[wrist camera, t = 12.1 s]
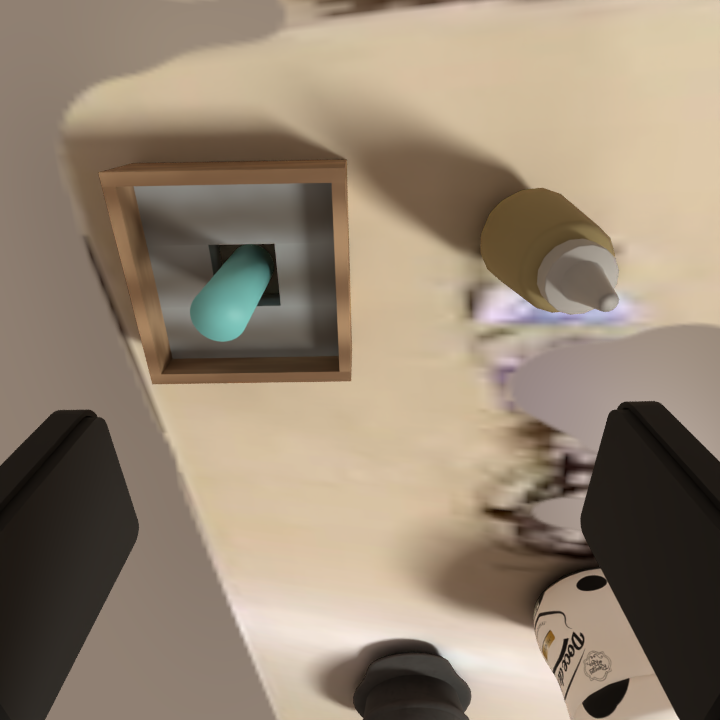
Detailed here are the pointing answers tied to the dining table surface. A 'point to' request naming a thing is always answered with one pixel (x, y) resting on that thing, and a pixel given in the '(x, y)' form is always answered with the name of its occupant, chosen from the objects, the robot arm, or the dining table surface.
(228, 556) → the dining table surface
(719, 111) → the dining table surface
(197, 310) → the peg
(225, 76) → the dining table surface
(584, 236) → the squeeze bottle
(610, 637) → the doce de leite jar
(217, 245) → the box
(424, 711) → the casserole
